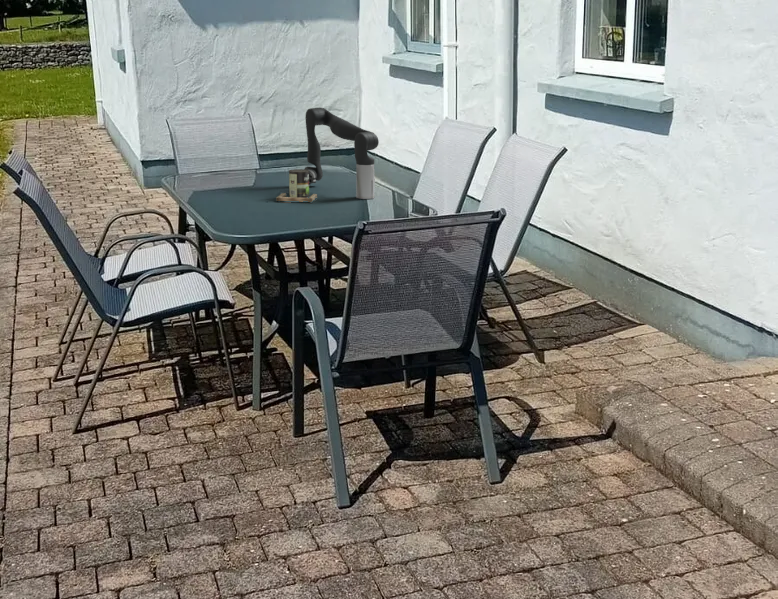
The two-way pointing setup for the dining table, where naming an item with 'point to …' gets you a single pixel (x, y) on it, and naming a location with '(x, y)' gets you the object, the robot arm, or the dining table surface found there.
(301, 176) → the coffee can
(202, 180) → the dining table surface
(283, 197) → the dock bay
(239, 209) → the dining table surface
